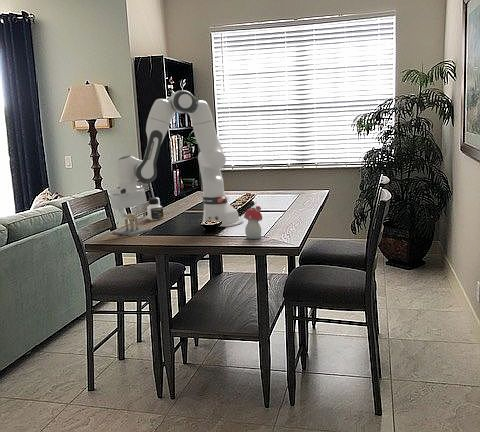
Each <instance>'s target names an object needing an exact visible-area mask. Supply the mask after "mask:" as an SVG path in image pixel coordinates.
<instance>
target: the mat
mask: <svg viewBox="0 0 480 432" xmlns="http://www.w3.org/2000/svg"><path fill="white" fill-rule="evenodd" d="M138 229H139V230H136V225H134V229H133V231H131V229H130V226H128V231H126V227H125V228H122V229H118V230H114V231H112V234H113V235H119V234H122V235H121V236H126V235H128V237H132V236H136V235H140V234H143V233H149V232H151V231H153V229H152V227H143V226H142V227H141V226H138Z"/></svg>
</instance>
